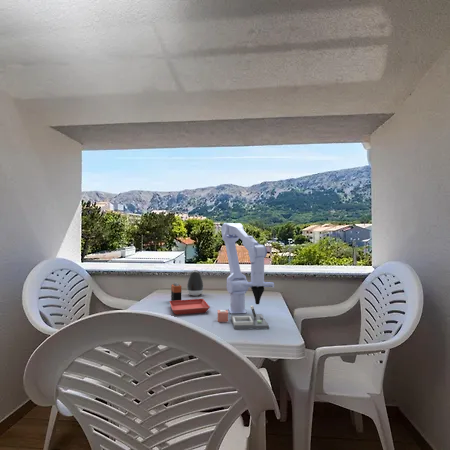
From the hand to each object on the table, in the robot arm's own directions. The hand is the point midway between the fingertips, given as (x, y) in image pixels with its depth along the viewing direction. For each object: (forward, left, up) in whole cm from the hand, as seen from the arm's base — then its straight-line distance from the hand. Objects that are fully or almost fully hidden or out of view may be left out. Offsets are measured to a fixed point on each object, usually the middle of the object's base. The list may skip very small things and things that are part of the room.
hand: (257, 303), depth 127 cm
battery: (-38, -39, -8) cm, 55 cm away
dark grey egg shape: (-54, -29, -8) cm, 62 cm away
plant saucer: (-21, -31, -8) cm, 38 cm away
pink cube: (-3, -15, -8) cm, 17 cm away
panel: (+1, -4, -8) cm, 9 cm away
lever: (0, -1, -6) cm, 6 cm away
